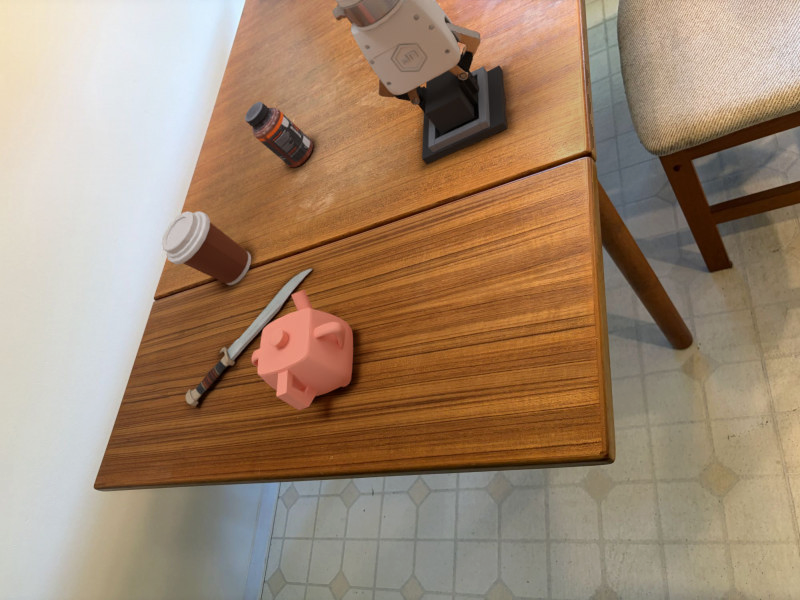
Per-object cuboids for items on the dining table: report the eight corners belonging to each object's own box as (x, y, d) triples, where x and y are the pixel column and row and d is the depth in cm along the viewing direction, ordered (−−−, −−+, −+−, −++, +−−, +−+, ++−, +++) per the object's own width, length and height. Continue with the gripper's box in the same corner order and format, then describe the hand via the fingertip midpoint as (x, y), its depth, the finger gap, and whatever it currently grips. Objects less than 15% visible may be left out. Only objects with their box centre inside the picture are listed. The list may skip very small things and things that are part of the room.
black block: (473, 81, 75) (458, 59, 72) (474, 118, 71) (459, 96, 68) (441, 98, 77) (426, 77, 75) (441, 134, 74) (424, 113, 71)
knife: (301, 255, 82) (311, 269, 78) (309, 261, 83) (319, 275, 79) (182, 386, 84) (185, 406, 80) (191, 391, 85) (194, 411, 81)
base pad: (503, 71, 76) (495, 58, 74) (507, 128, 70) (499, 116, 68) (428, 109, 82) (419, 97, 80) (426, 164, 76) (417, 153, 75)
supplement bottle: (320, 140, 96) (272, 94, 88) (304, 169, 95) (254, 125, 87) (299, 140, 100) (252, 97, 92) (284, 168, 99) (234, 126, 91)
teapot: (334, 308, 74) (282, 274, 67) (383, 350, 65) (329, 316, 59) (282, 378, 74) (224, 351, 67) (324, 430, 65) (263, 404, 58)
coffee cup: (216, 266, 97) (156, 230, 89) (253, 234, 95) (195, 194, 86) (220, 302, 91) (156, 268, 83) (260, 270, 88) (198, 230, 80)
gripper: (313, 53, 64) (402, 151, 77) (440, -30, 55) (517, 97, 68) (321, 13, 68) (405, 113, 80) (441, -70, 59) (514, 57, 72)
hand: (455, 105), depth 74 cm, fingers closed on black block, 4 cm apart
